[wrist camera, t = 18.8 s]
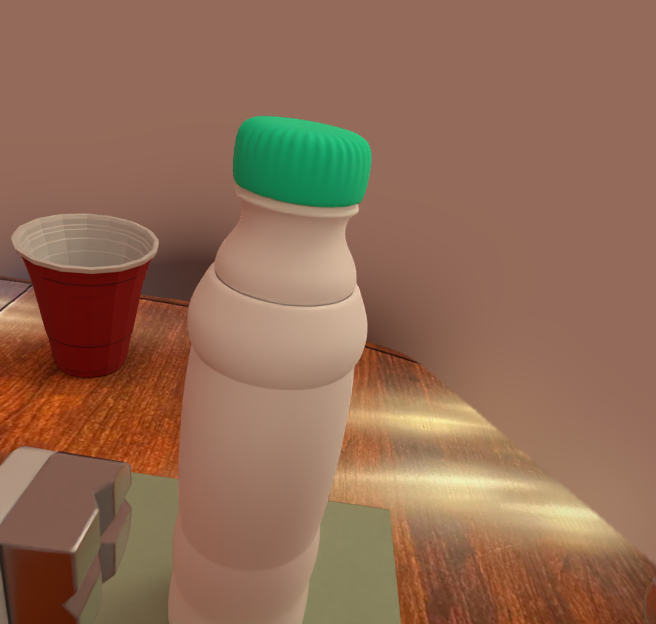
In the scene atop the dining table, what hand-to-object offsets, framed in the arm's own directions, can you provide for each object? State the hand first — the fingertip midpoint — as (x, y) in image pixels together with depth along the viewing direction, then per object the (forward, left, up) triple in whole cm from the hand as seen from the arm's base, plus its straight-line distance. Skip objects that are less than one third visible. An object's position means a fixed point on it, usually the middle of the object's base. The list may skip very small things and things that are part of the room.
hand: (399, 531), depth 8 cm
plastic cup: (+20, -35, -22) cm, 46 cm away
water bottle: (+3, -13, -21) cm, 25 cm away
